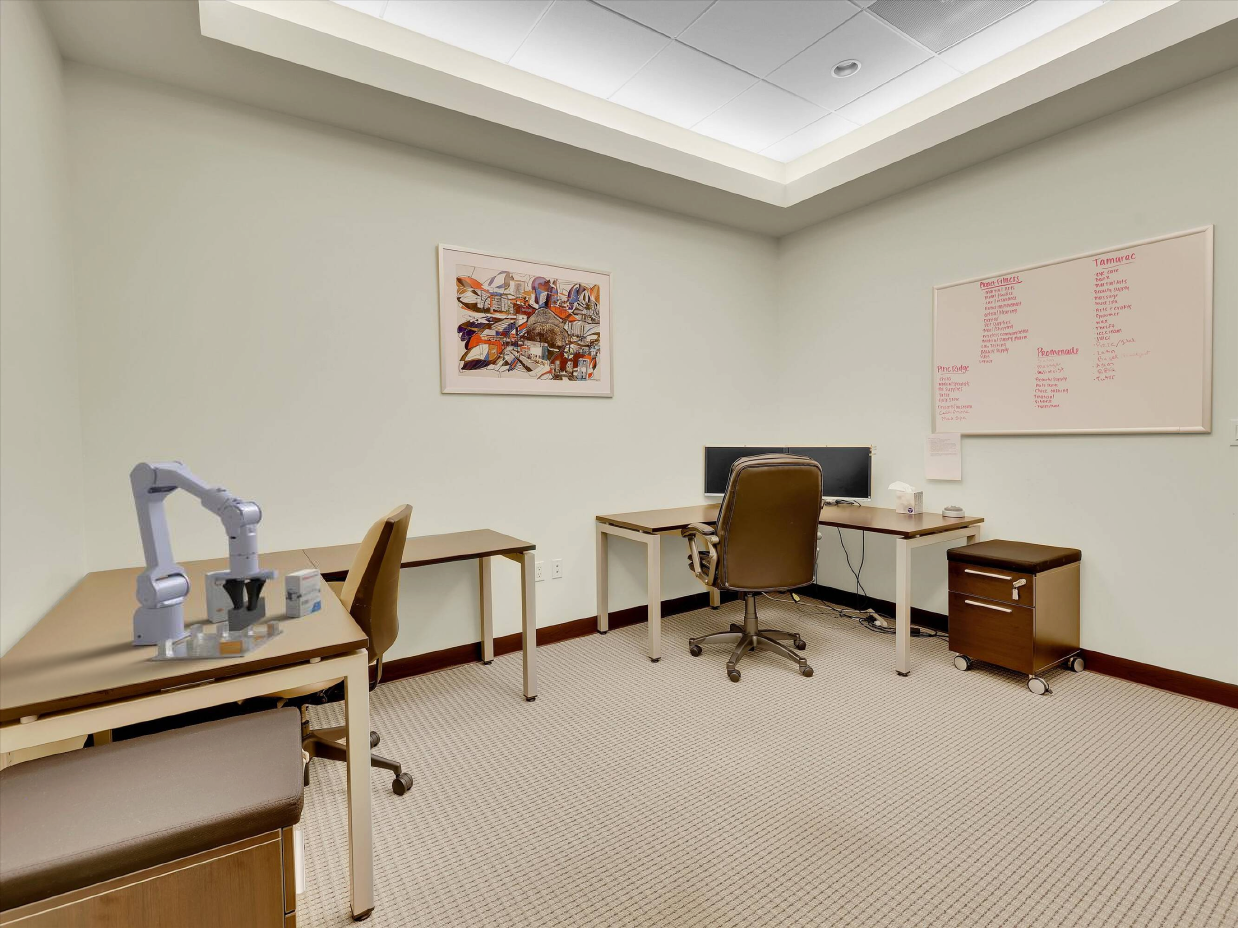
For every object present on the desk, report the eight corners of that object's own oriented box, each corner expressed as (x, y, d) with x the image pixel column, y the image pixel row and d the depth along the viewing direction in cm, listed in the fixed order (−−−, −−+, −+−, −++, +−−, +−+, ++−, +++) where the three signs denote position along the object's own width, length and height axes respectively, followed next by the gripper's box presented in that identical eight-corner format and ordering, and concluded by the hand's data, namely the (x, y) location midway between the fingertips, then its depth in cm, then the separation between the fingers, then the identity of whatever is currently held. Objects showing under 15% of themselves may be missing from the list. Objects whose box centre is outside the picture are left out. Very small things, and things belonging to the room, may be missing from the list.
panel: (228, 631, 135) (227, 610, 135) (255, 616, 146) (254, 596, 146) (240, 631, 135) (238, 609, 135) (265, 616, 146) (264, 596, 146)
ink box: (307, 608, 172) (305, 568, 171) (322, 609, 171) (321, 568, 170) (285, 617, 163) (283, 575, 163) (301, 617, 162) (299, 575, 162)
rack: (151, 660, 131) (150, 644, 131) (201, 635, 148) (200, 621, 148) (244, 656, 132) (243, 640, 132) (283, 632, 149) (282, 618, 149)
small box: (240, 612, 169) (238, 567, 168) (247, 616, 165) (245, 570, 164) (206, 619, 163) (204, 572, 162) (213, 623, 159) (210, 575, 158)
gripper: (283, 549, 144) (285, 604, 145) (222, 551, 143) (224, 606, 144) (268, 554, 137) (270, 612, 138) (203, 557, 136) (206, 615, 137)
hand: (246, 610), depth 140 cm, fingers closed on panel, 2 cm apart
